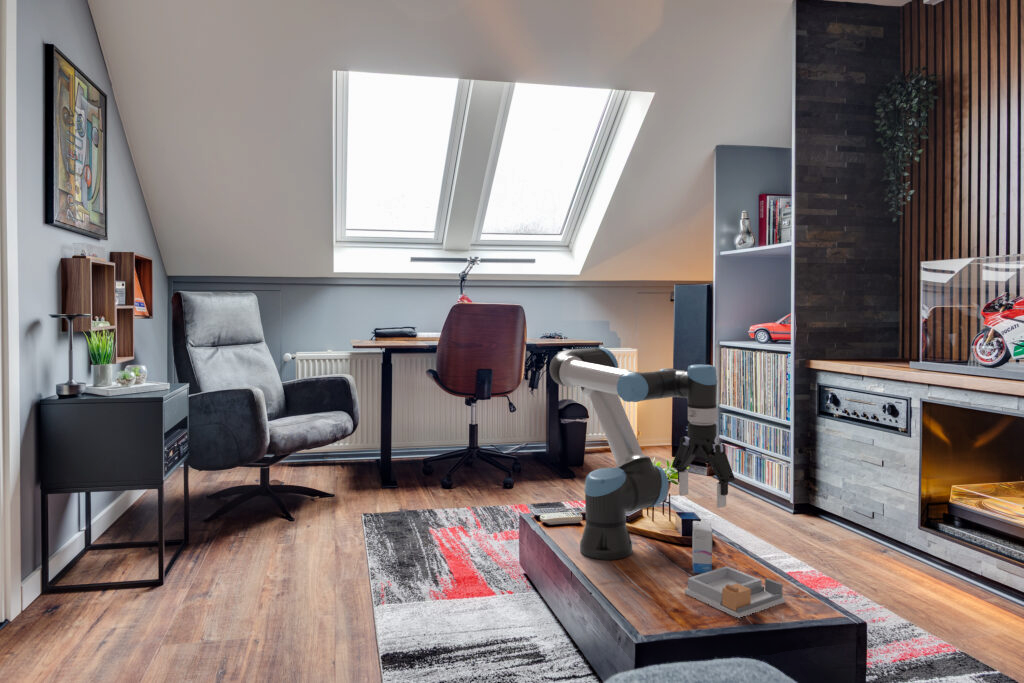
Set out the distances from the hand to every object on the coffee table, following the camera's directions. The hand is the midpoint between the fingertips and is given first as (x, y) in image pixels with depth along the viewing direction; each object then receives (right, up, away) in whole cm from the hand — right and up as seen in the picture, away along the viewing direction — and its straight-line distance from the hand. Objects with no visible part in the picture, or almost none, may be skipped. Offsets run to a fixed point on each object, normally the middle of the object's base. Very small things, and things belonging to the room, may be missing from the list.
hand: (702, 500), depth 194 cm
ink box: (0, -19, +1) cm, 19 cm away
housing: (+3, -20, -18) cm, 27 cm away
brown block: (+1, -19, -26) cm, 32 cm away
